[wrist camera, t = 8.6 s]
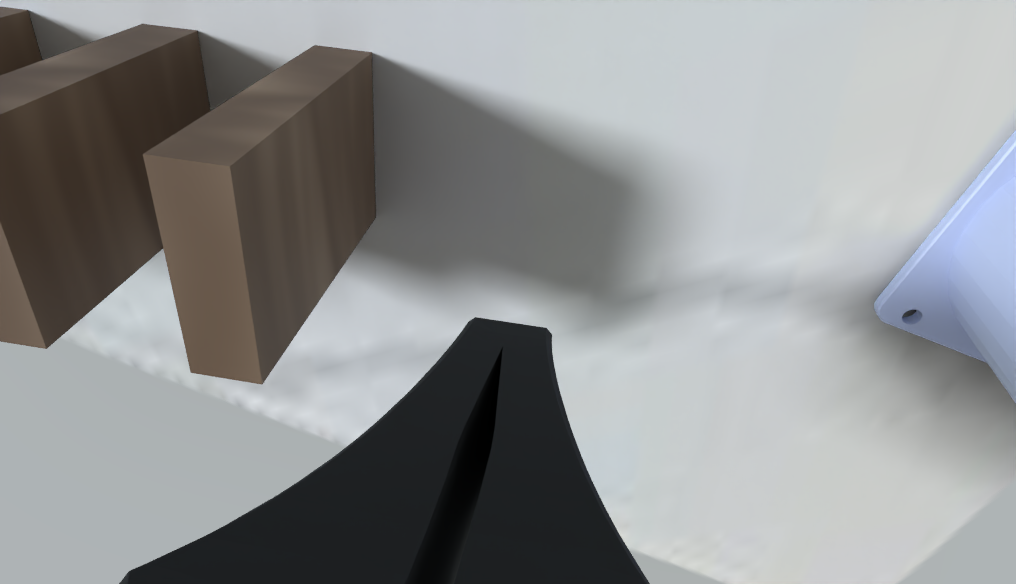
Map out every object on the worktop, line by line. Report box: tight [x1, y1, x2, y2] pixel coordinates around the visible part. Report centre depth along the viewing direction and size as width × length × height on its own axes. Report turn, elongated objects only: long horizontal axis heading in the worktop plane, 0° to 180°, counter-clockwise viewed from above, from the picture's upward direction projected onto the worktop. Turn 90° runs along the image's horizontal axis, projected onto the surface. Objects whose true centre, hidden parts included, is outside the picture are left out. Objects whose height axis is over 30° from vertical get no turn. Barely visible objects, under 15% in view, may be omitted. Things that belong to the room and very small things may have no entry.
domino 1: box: [0, 24, 210, 349], centre depth 17 cm, size 2×5×8 cm, turn 175°
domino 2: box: [143, 45, 376, 384], centre depth 17 cm, size 2×5×8 cm, turn 175°
